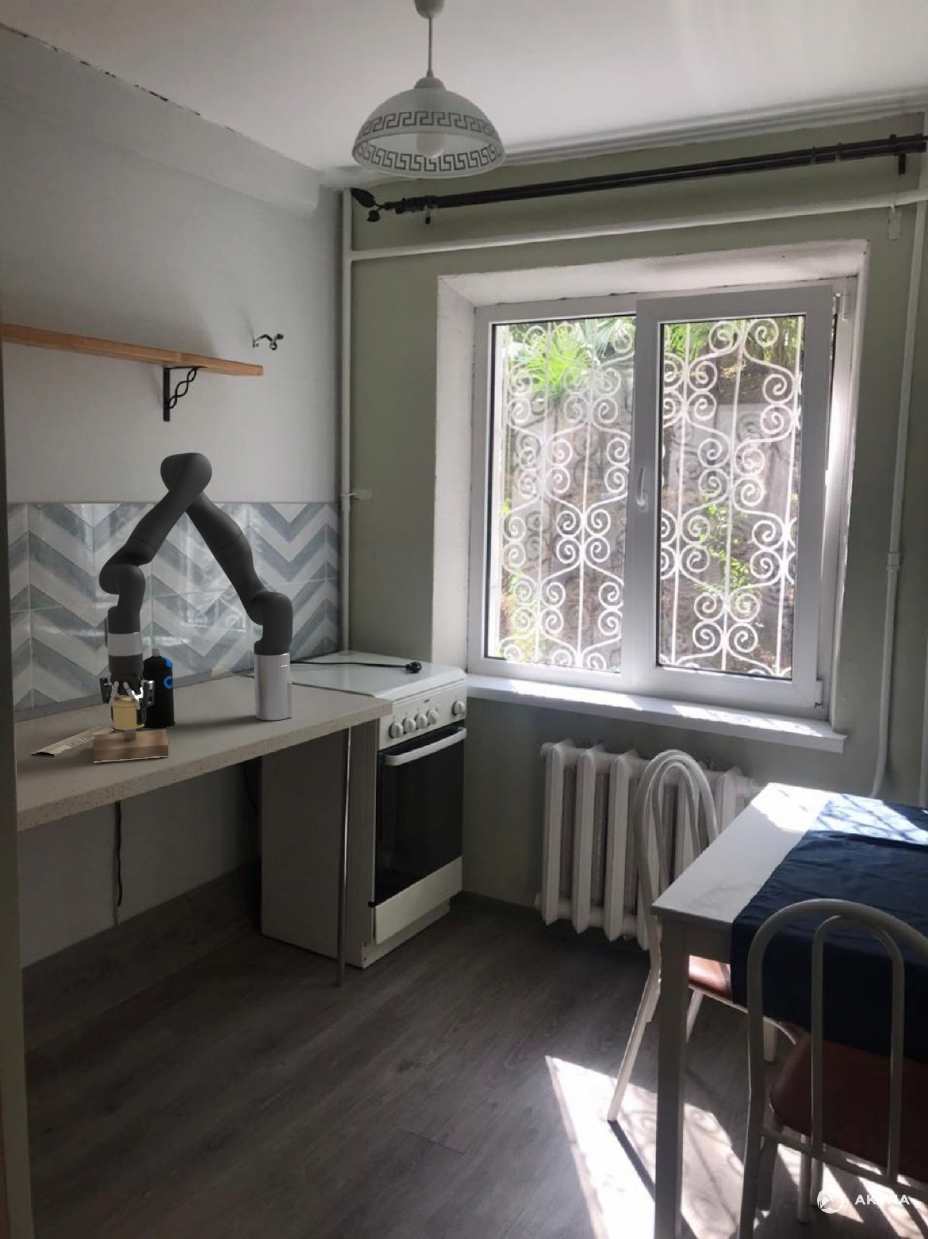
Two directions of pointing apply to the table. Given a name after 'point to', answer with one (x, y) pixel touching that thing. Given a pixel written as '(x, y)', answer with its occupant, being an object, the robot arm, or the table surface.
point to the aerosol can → (159, 691)
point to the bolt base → (130, 745)
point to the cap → (125, 714)
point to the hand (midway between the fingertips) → (128, 722)
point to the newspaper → (76, 740)
